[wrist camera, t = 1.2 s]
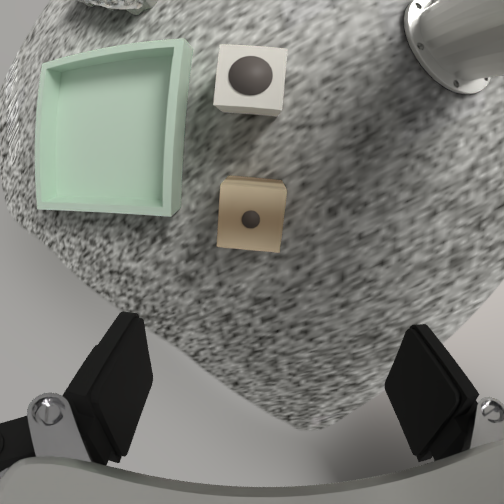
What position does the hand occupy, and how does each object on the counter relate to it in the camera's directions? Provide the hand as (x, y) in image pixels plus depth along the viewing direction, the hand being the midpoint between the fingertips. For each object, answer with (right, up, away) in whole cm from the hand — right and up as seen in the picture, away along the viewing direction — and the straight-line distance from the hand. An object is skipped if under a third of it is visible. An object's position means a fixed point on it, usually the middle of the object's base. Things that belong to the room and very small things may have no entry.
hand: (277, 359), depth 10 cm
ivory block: (-1, +19, +15) cm, 24 cm away
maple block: (-1, +8, +19) cm, 20 cm away
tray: (-15, +16, +16) cm, 27 cm away
